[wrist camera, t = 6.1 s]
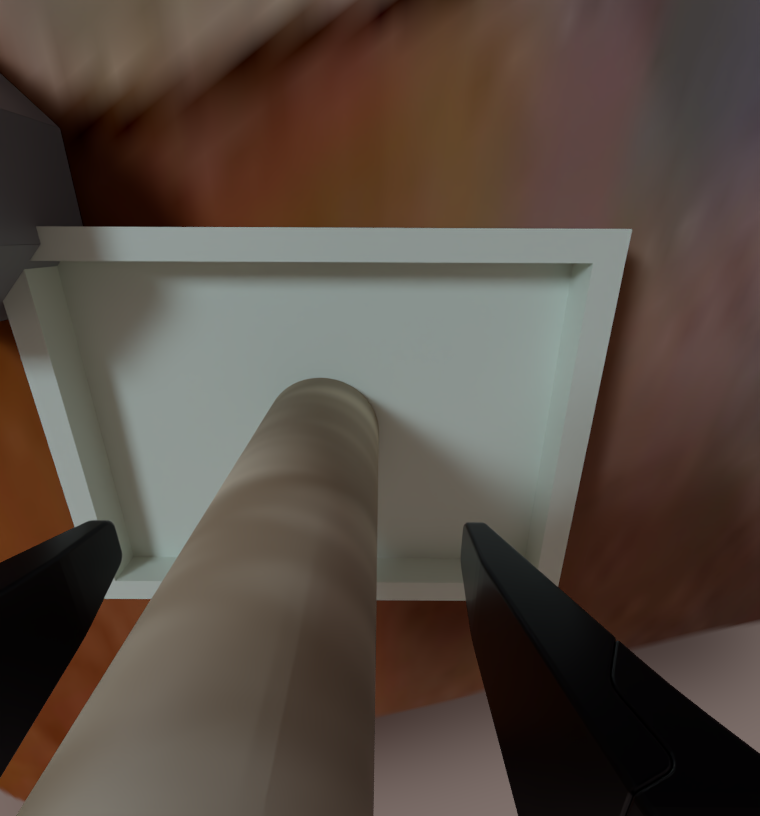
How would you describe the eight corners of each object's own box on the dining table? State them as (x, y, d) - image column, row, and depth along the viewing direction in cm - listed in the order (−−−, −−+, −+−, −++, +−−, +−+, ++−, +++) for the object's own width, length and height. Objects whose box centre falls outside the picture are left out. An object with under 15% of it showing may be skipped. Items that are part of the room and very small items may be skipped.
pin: (379, 378, 13) (370, 881, 3) (378, 478, 15) (372, 1055, 4) (261, 377, 13) (-142, 877, 3) (272, 478, 15) (20, 1052, 4)
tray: (597, 229, 12) (632, 229, 10) (537, 564, 17) (555, 601, 15) (34, 227, 12) (-22, 226, 11) (125, 562, 17) (97, 598, 15)
